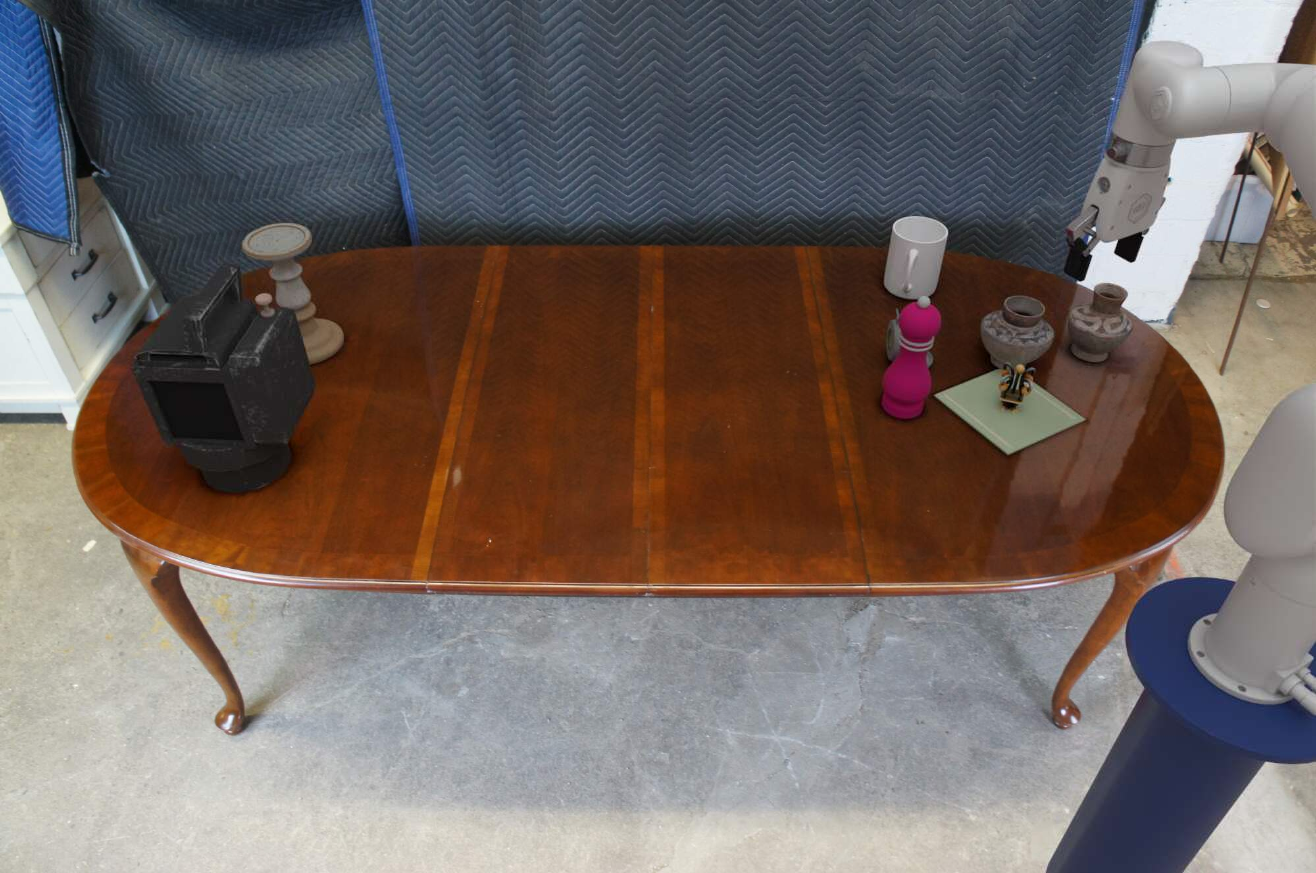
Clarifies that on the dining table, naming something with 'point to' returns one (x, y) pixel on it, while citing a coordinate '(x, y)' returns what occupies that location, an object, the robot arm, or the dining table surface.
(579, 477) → the dining table surface
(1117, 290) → the pottery
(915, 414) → the pepper mill
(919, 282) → the mug
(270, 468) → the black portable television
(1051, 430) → the napkin
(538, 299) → the dining table surface
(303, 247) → the candle holder
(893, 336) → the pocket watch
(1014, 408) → the figurine
